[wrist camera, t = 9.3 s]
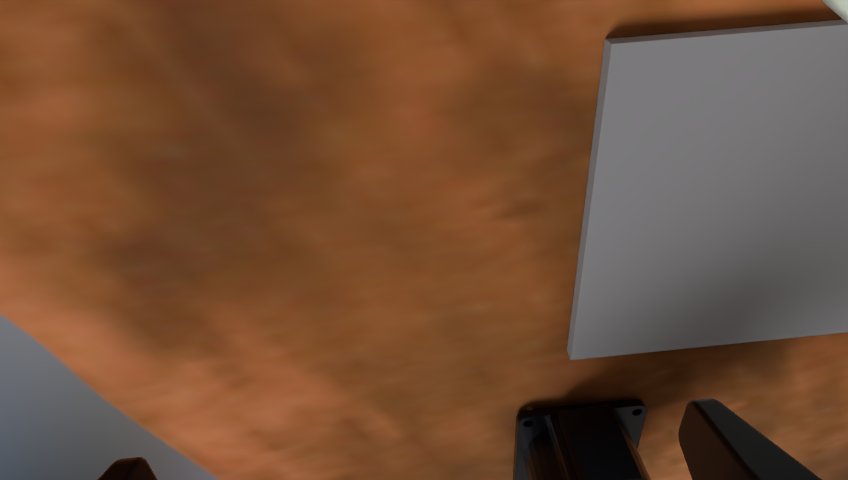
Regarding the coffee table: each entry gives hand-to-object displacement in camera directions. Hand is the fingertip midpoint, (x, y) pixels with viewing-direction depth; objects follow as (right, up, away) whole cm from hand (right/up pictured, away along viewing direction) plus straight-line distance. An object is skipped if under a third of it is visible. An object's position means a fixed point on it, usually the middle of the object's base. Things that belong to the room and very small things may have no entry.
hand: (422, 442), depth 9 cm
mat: (+13, +5, +13) cm, 19 cm away
